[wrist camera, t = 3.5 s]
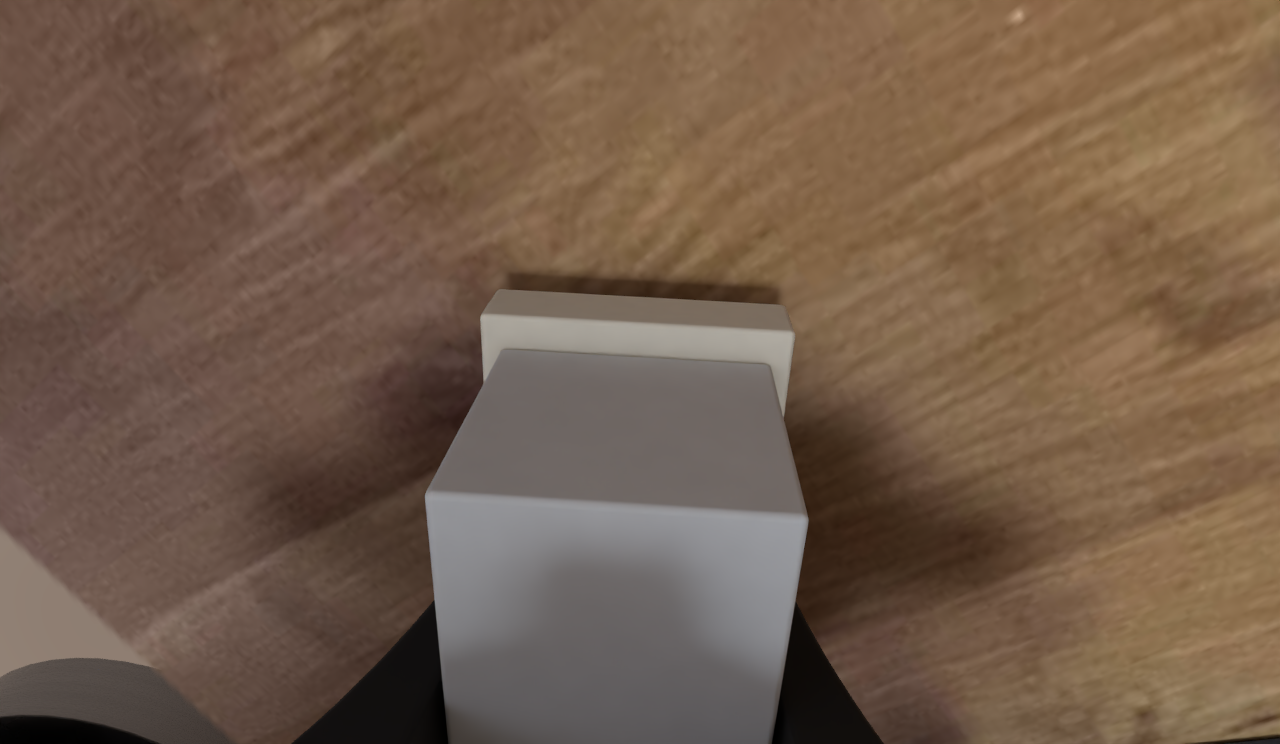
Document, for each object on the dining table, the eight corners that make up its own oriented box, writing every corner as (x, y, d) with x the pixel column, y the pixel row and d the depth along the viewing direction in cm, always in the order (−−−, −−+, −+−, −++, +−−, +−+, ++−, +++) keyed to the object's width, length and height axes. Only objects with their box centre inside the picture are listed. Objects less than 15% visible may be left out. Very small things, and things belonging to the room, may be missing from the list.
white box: (729, 744, 16) (746, 1024, 12) (514, 728, 16) (451, 999, 12) (786, 303, 12) (848, 478, 8) (496, 287, 12) (387, 449, 8)
